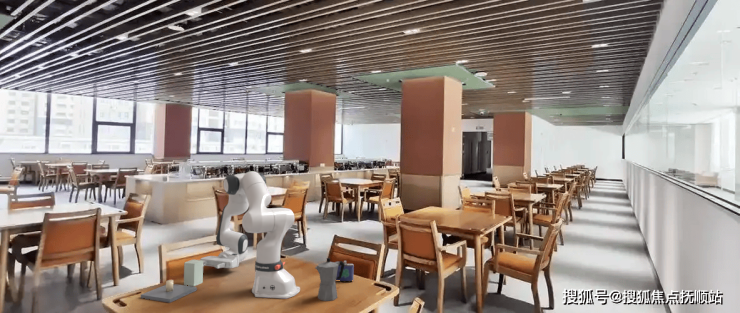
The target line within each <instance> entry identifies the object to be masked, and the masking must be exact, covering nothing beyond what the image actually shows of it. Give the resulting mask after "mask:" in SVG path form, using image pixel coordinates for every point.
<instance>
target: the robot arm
mask: <svg viewBox="0 0 740 313" xmlns="http://www.w3.org/2000/svg"><path fill="white" fill-rule="evenodd" d="M223 189H224V191H225V193H226V194H227V195H228V202H227V204H226V205H225V206H224V207H223V208H222V212H221V217H220V221H219V225H218V230H217V233H216V235H215V241H216V244H217V245H218V246H220V247H225V248H226V247H227V248H228V250H225V251H221V252H220V253H219V254H218V256H216V255H208V256H203V257H201V258H199V260H202V261H203V267H205V266H206V267H214V268H215V269H222V268H224V269H233V268H234V269H235V268H238V267H239V266H240V263H241V262H242V261H244V260H245V259H246V257H247V256H248V255H249V254H248V253H249V250H248V247H249V239H248V236H247V234H245V233H242V232H238V231H234V230H232V229H231V228H230V225H231V219H232V217H234V216H239V215H243V216H242V219H241V224H242V225H241V226H242V228H243V230H244V231H245V232H246V233H251V234H262V233H266V234H265V236H264V237H263V238H262V239H261V240H260V241H259V242H257V245H256V248H255V250H256V251H255V252H256V253H255V254H256V255H255V256H256V258H255V262H254V271H255V272H254V273H255V274H254V282H253V286H252V289H251V292H252V294H253V295H254V297H255V298H269V299H270V298H271V299H290V298H291V297H294V296H296V295H297V294H299V292H300V291H301V286H298V285H296V280H295V277H294V276H293V275H292V274H291V273H290V272H288V271H287V270H286V269H285V268H284V265H285V264H286V261H284V262H282V260H281V248H282V242H283V240H284V237H285V235H286V233H287V232H288V231H289V229H290V228H292V227H293V226H294V224H295V217H296V216H295V214H294V212H293V210H292V209H291V208H286V207H272V208H268V206H269V205H270V203H271V201H272V194H271V192H270V190H269V188H268V186H267V178H266V176H265V174H264V173H262V172H258V171H253V170H252V171H247V172H246V173H245V172H243V173H237V174H236V173H235V174H230V175H229V174H228V175H227V176H225V178H224V179H223Z"/></svg>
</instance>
